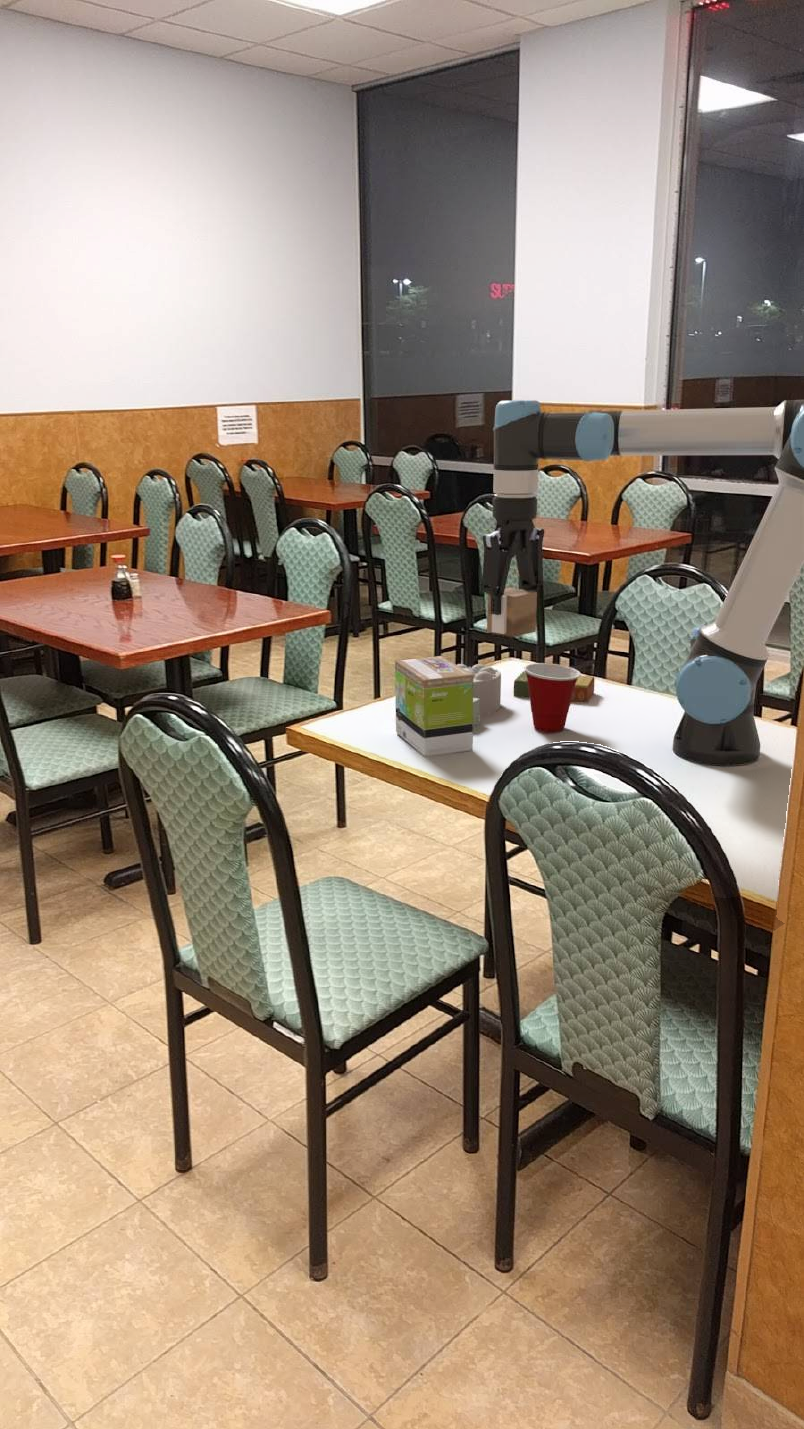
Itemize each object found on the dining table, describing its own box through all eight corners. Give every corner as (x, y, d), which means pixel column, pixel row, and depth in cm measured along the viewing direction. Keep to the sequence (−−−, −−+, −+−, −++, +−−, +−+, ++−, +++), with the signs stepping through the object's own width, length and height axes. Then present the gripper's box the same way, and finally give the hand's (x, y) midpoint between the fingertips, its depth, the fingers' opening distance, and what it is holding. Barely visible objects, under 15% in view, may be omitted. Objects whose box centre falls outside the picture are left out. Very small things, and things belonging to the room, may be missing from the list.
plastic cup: (577, 738, 203) (579, 677, 200) (519, 735, 206) (521, 674, 202) (579, 722, 214) (582, 663, 210) (524, 719, 216) (526, 660, 212)
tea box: (393, 734, 207) (393, 658, 202) (442, 728, 210) (442, 654, 206) (423, 758, 193) (423, 677, 189) (474, 751, 197) (476, 672, 192)
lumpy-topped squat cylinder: (432, 707, 224) (432, 667, 221) (479, 697, 231) (480, 658, 229) (464, 719, 216) (465, 677, 213) (512, 708, 223) (513, 667, 221)
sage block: (479, 723, 213) (479, 698, 212) (467, 729, 209) (467, 704, 208) (456, 719, 216) (457, 695, 215) (444, 725, 212) (445, 701, 210)
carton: (587, 704, 227) (588, 685, 225) (512, 698, 232) (513, 679, 231) (594, 694, 234) (595, 675, 233) (521, 688, 239) (522, 669, 238)
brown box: (535, 631, 189) (537, 592, 187) (513, 637, 185) (514, 596, 183) (509, 626, 193) (510, 587, 191) (487, 631, 189) (487, 592, 187)
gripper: (533, 490, 191) (530, 618, 198) (460, 497, 179) (458, 634, 185) (567, 493, 186) (562, 624, 193) (494, 500, 174) (491, 641, 180)
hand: (511, 629), depth 189 cm, fingers closed on brown box, 6 cm apart
